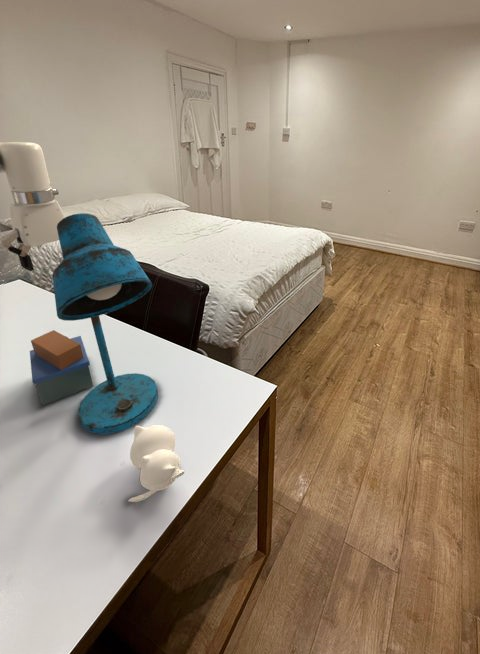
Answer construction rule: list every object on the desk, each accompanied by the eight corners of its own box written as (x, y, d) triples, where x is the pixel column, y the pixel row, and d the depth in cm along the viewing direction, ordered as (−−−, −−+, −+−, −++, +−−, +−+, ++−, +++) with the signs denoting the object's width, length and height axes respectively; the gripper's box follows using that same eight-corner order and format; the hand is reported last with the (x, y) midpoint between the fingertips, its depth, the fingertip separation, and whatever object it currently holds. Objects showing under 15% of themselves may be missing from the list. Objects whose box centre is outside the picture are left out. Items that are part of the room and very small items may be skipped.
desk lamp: (99, 466, 61) (40, 244, 44) (70, 399, 75) (17, 212, 58) (179, 418, 72) (156, 225, 55) (141, 367, 86) (113, 201, 69)
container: (37, 375, 82) (29, 350, 79) (86, 358, 88) (80, 335, 85) (41, 407, 73) (32, 380, 70) (95, 386, 79) (88, 361, 76)
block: (34, 354, 78) (30, 340, 76) (57, 343, 82) (53, 329, 80) (61, 370, 73) (57, 356, 72) (83, 357, 77) (80, 344, 76)
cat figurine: (168, 458, 53) (150, 408, 62) (113, 513, 51) (102, 453, 59) (198, 471, 59) (177, 423, 68) (150, 521, 56) (135, 465, 65)
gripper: (63, 190, 85) (76, 250, 91) (-21, 200, 71) (2, 271, 77) (80, 193, 82) (93, 255, 88) (-4, 205, 68) (18, 278, 74)
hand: (50, 262), depth 83 cm, fingers open, 9 cm apart
